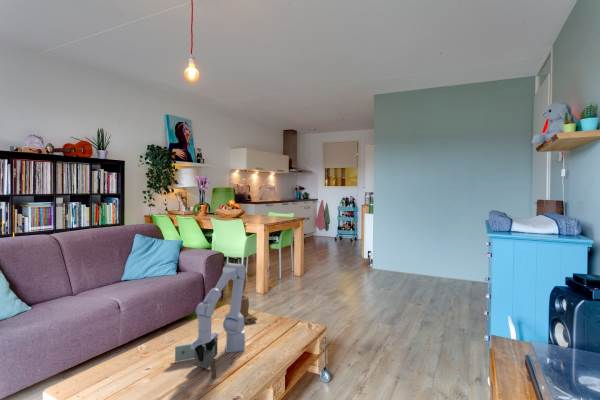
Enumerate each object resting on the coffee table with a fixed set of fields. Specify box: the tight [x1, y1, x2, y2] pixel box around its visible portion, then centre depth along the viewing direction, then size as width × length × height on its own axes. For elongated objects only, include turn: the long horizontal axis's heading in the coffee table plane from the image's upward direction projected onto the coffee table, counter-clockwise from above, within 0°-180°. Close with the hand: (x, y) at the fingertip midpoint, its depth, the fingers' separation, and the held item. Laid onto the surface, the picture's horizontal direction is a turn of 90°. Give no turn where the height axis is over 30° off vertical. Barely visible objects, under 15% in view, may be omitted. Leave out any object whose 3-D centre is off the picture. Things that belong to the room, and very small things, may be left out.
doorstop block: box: [194, 349, 214, 370], centre depth 149 cm, size 8×4×6 cm, turn 58°
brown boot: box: [240, 294, 258, 324], centre depth 204 cm, size 15×12×15 cm
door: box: [174, 340, 218, 362], centre depth 157 cm, size 19×2×7 cm, turn 113°
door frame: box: [210, 337, 219, 380], centre depth 152 cm, size 2×24×8 cm, turn 13°
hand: (204, 358), depth 149 cm, fingers closed on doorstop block, 4 cm apart
